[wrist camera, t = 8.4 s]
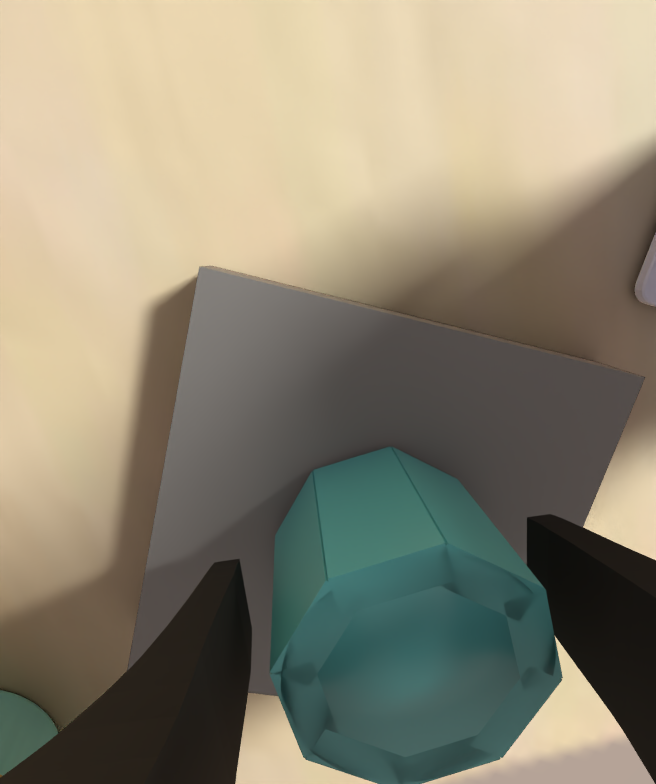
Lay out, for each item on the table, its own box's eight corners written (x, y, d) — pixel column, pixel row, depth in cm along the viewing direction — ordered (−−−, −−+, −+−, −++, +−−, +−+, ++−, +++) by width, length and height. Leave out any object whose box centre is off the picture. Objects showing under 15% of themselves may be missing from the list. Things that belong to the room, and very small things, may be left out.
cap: (446, 429, 13) (531, 516, 8) (484, 589, 14) (573, 736, 10) (256, 487, 13) (241, 605, 8) (313, 642, 14) (326, 813, 10)
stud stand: (598, 362, 15) (796, 425, 9) (477, 673, 18) (570, 873, 12) (212, 265, 13) (154, 268, 7) (145, 627, 16) (65, 833, 10)
